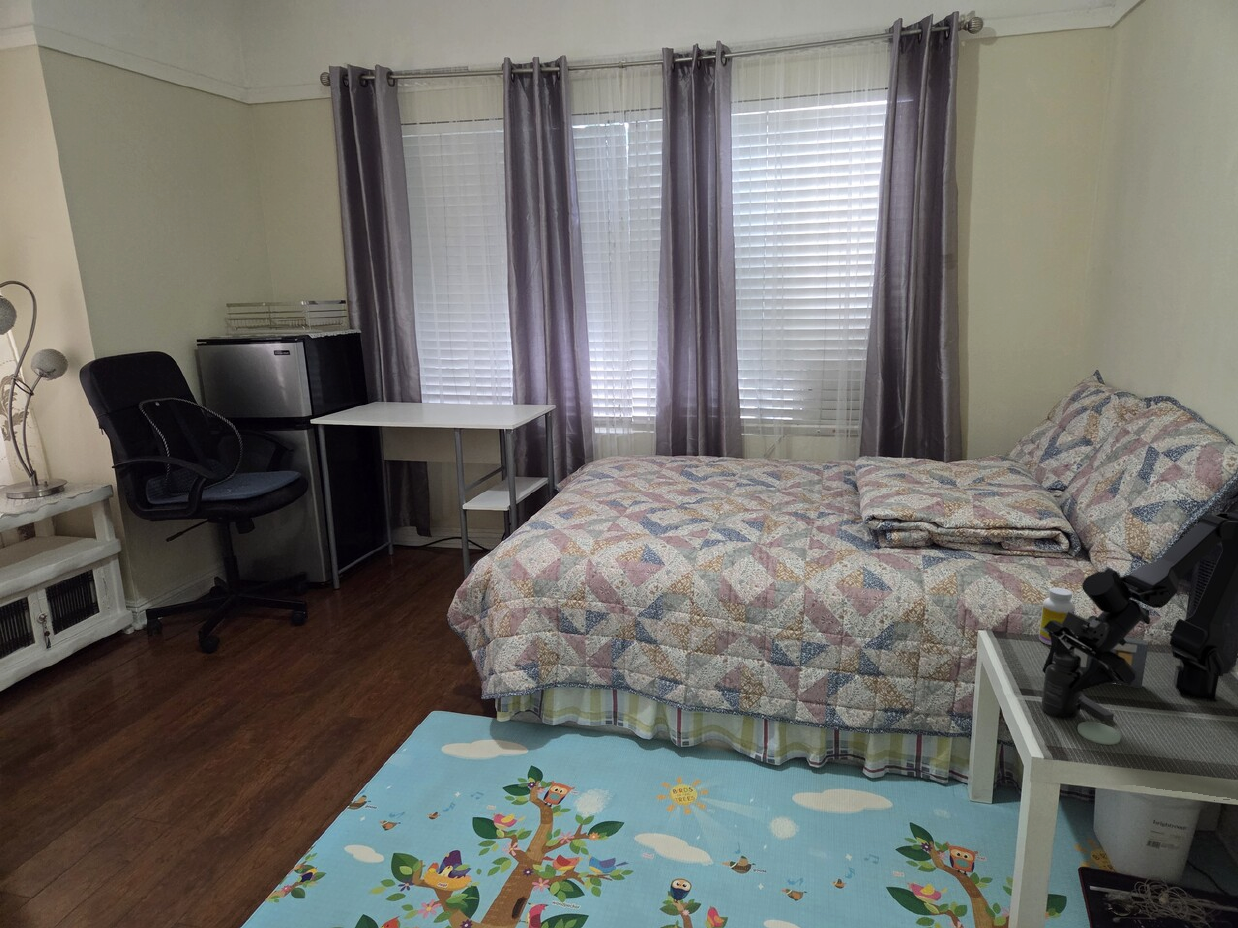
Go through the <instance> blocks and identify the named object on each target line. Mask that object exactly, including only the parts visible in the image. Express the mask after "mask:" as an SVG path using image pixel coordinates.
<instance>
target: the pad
mask: <svg viewBox="0 0 1238 928" xmlns="http://www.w3.org/2000/svg"><path fill="white" fill-rule="evenodd" d="M1077 732H1078V734H1079V735H1080V736H1081V737H1082V738H1084V739H1086V740H1088V741H1090V742H1091V743H1092V742H1093V743H1096V744H1098V745H1105V746H1113V745H1117V744H1119V743H1120V742H1121V737H1122V736H1121V734H1120V732H1119V731H1117V730H1116V729H1115V728H1113V727H1111V726H1109V725H1106V724H1105V723H1104V724H1103V723H1101V722H1095V721H1083V722H1080V723H1079V724H1078V725H1077Z"/></svg>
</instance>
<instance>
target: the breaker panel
mask: <svg viewBox="0 0 1238 928" xmlns="http://www.w3.org/2000/svg"><path fill="white" fill-rule="evenodd" d="M1070 631H1071V630H1070ZM1071 632H1072V631H1071ZM1072 633H1073V632H1072ZM1073 634H1074V633H1073ZM1074 635H1075V634H1074ZM1075 636H1076V635H1075ZM1076 637H1077V638H1078V636H1076ZM1124 640H1125V641H1126V643H1125V644H1124V646H1122V645H1121V644H1118V645H1117V646H1116V647H1115V648H1114V649H1113V650H1112V651H1111V652H1113V653H1115V654H1116V655H1118V652H1120V653H1127V654H1131V655H1132V663H1131V667H1132V669H1133V670H1134V671H1135V672H1136V675H1135V679H1134V680H1133V681H1132V683H1131V684H1130V685H1126V684H1125V683H1123V682H1121V681H1120V680H1118V679H1117V680H1118V683H1116V684H1121V685H1120V686H1122V685H1124V686H1125V687H1130V688H1134V689H1142V687H1143V681H1144V673H1145V669H1146V662H1147V656H1148V650H1149V643H1148V640H1147V639H1141V638H1140V639H1139V638H1134V637H1129V636H1128V637H1126V636H1125V637H1124ZM1082 647H1083V646H1082ZM1069 651H1070V652H1071V653H1074V649H1071V650H1069ZM1092 653H1093V654H1096V653H1094V652H1092ZM1091 659H1092V657H1090V656H1087V663H1086V667H1080V670H1081V671H1082V672H1083V674H1084V673H1085V672H1086V671H1087V670H1088V669H1089V667H1090V663H1091ZM1111 683H1115V682H1111ZM1111 683H1110V684H1111ZM1116 684H1115V685H1116ZM1124 686H1123V687H1124Z"/></svg>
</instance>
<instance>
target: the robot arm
mask: <svg viewBox="0 0 1238 928" xmlns="http://www.w3.org/2000/svg"><path fill="white" fill-rule="evenodd" d="M1219 544H1221V545H1220V546H1221V549H1222V550H1221V553H1220V555H1219V557H1218V559H1217V561H1216V564H1215V565H1214V568H1213V570H1212V573H1211V574H1210V577H1209V579H1208V581H1207V584H1206V586H1205V589H1204V591H1203V593H1202V595H1201V597H1200V599H1199V602H1198V604H1197V605H1196V609H1195V610H1194V613H1193V614H1191V616H1189V617H1187V618H1185V619H1182V618H1179V619H1177V621H1176V622H1175V625H1174V629H1173V630H1172V631H1171V633H1170V634H1169V636H1170V640H1169V645H1170V646H1171V651H1172V656H1173V658H1175V659H1178V660H1180V661H1179V665H1176V666H1175V669H1174V677H1173V685H1174V687H1175V689H1176V690H1177V692H1178V695H1180V696H1182V697H1187V698H1193V699H1198V700H1204V701H1205V700H1206V701H1210V702H1216V703H1217V702H1218V701H1219V699H1218V697H1217V696H1216V694H1217V690H1218V683H1219V679H1220V677H1224V674H1228V673H1229V671H1230V670H1231V667H1232V665H1233V663H1232V661H1230V659H1229V658H1228V657H1227V656H1226V655H1225V654H1224V652H1223V649H1224V646H1225V644H1226V638H1225V634H1224V629H1223V624H1224V621H1225V619H1226V618H1227V615H1228V613H1229V611H1230V609H1231V606H1232V604H1233V602H1234V601H1235V600H1234V599H1235V598H1236V595H1237V593H1238V509H1235V510H1233V511H1231V512H1215V513H1214V514H1204V515H1202V516H1201V517H1199V519H1198V522H1197V523H1196V525H1194V527H1193V528H1191V529H1190V531H1188V532H1187V533H1186V534H1185V535H1184V536H1183V537H1182V538H1180V540H1178V541H1177V542H1176V543H1175V544H1174V545H1173V546H1172V547H1171V548H1170V549H1169V550H1167V552H1165V553H1164V554H1163V555H1162V556H1161V557H1159V559H1157V560H1155V561H1153V562H1150V563H1145V564H1142V565H1141V566H1138V568H1136V569H1134V570H1133V571H1132V572H1130V573H1129V574H1128V575H1124V576H1120V574H1119V572H1118V571H1116V570H1113V569H1112V568H1106V569H1105V570H1104V571H1099V572H1095V573H1092V574H1091V575H1087V576H1086V577H1085V579H1084V580H1083V582H1082V585H1081V586H1082V590H1083V592H1084V593H1085V594H1086V596H1087V597H1088V598H1089V599H1090V600H1091V601H1092V602H1093V604H1094V605H1095V606H1096V608H1097V609H1099V610H1100V611H1101V613H1100V614H1099V615H1098V616H1096V615H1094V614H1092V615H1090V616H1089V617H1088V618H1085V617H1082V616H1080V615H1078V614H1076V613H1074V614H1073V613H1071V612H1068V613H1067V615H1066V617H1065V618H1064V620H1063V622H1062V624H1061V623H1059V622H1058V621H1056V620H1053V621H1049V622H1048V623H1047V624H1046V625H1045V627H1044V629H1045V630H1046V631H1047V632H1048V633H1049V635H1048V636H1049V637H1050V638H1051V645H1050V650H1049V653H1048V655H1047V658H1046V660H1045V663H1044V665H1043V668H1042V673H1044V674H1045V671H1046V668H1047V666H1049V665H1050V664H1052V659H1053V654H1054V653H1055V652H1057V651H1066V652H1070V651H1069V650H1071V649H1074V648H1076V649H1078V650H1080V651H1081V652H1083V653H1085V654H1086V655H1088V656H1090V657H1092V659H1091V663H1090V667H1089V669H1088V670H1087V671H1086V672H1085V673H1084V674H1083V675H1082V676H1081V677H1080V678H1079V680H1078V681H1077V682H1076V683H1075V684H1074V685H1073V687H1072V688H1071V690H1072V692H1074V693H1077V692H1080V691H1083V692H1084V691H1087V690H1088V689H1092V688H1095V687H1097V686H1101V685H1106V684H1111V682H1115V683H1118V680H1120V681H1121V682H1123V683H1125V684H1126V685H1130V684H1131V683H1132V681H1133V680H1134V679H1135V675H1136V672H1135V671H1134V670H1133V669H1132V667H1131V666H1130V665H1129V664H1128V663H1127V662H1126V660H1125V659H1123V658H1122V657H1120V656H1118V655H1116V654H1115V653H1113V652H1111V651H1112V650H1113V649H1114V648H1115V647H1116V646H1117V645H1118V644H1121V645H1122V646H1124V644H1125V643H1126V641H1125V640H1124V637H1126V636H1127V635H1129V633H1130V632H1131V631H1132V630H1133V629H1134V628H1135V627H1137V625H1138V624H1139V623H1140V622H1142V623H1143V624H1146V625H1150V623H1151V618H1150V610H1149V609H1147V608H1145V607H1142V606H1141V605H1140V604H1139V603H1141V604H1144V605H1146V606H1148V607H1150V608H1153V609H1161V608H1163V607H1164V606H1166V605H1167V604H1168V603H1169V602H1170V601H1171V600H1172V598H1173V597H1174V596H1175V595H1176V594H1177V592H1178V591H1179V584H1180V580H1181V579H1182V578H1184V576H1185V575H1186V574H1187V573H1188V572H1189V571H1190V570H1192V569H1193V568H1194V567H1195V566H1196V565H1197V564H1198V563H1199V562H1200V561H1202V559H1204V558H1205V557H1206V556H1207V555H1208V554H1209V553H1210V552H1211V551H1213V549H1215V547H1217V546H1218V545H1219ZM1138 602H1139V603H1138ZM1070 630H1071V631H1072V632H1073V633H1074V634H1075V635H1076V636H1078V638H1077V637H1076V636H1075V635H1074V634H1073V633H1072V632H1071V631H1070ZM1082 646H1083V647H1084V648H1083V647H1082ZM1092 652H1094V653H1096V654H1093V653H1092ZM1117 679H1118V680H1117Z"/></svg>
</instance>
